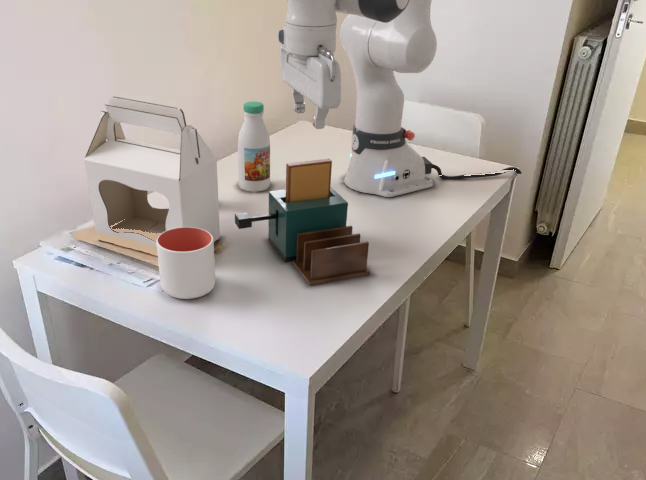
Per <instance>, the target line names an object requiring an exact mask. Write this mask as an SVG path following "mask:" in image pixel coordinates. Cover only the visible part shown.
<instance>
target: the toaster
mask: <svg viewBox="0 0 646 480" xmlns="http://www.w3.org/2000/svg"><path fill="white" fill-rule="evenodd" d="M348 209H349V202H348V201H347V200H346V199H345V198H344V197H342V195H340V194H339V193H338V192H337V191H336V190H335V189H334V188H333V187H332V186H330V197H326V198H319V199H311V200H304V201H296V202H289V203H286V188H284V189H277V190H276V189H275V190H269V191H268V215H269V214H276V213H278V218H276V219H269V220H268V240H267V241H268V243H270V245H271V246H272V247H273V248H274V250H275V251H276V252H277V253H278V255H279V256H280V257H281V259H282V260H283V261H284V263H289V262H292V260H296V256H297V234H299V233H305V232H312V231H319V230H325V229H332V228H339V227H345V226H347V221H348Z"/></svg>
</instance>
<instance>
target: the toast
mask: <svg viewBox="0 0 646 480" xmlns="http://www.w3.org/2000/svg"><path fill="white" fill-rule="evenodd" d="M285 165H286V168H285V189H286V203H289V202H296V201H304V200H311V199H319V198H326V197H330V187H331V185H332V184H331V183H332V167H333V160H331V159H330V158H322V159H315V160H305V161H296V162H287V163H286V164H285Z"/></svg>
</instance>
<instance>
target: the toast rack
mask: <svg viewBox="0 0 646 480" xmlns="http://www.w3.org/2000/svg"><path fill="white" fill-rule="evenodd" d="M353 228H354V227H353V225H346V226H345V227H339V228H332V229H325V230H319V231H312V232H305V233H299V234H297V256H296V260H292V261H291V264H292V265H293V267H294V268H295V269H296V270H297V272H298V273H299V274H300V275H301V277H302V278H303V279H304V280H305V281H306V283H307V284H308V286H315V285H321V284H325V283H326V284H327V283H332V282H337V281H338V282H339V281H343V280H349V279H354V278H360V277H365V276H370V275H371V270H370V269H369V268H368V258H369V257H368V256H369V246H370V242H369V241H368V240H367V241H361V233H360V232H359V233H353Z"/></svg>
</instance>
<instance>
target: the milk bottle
mask: <svg viewBox="0 0 646 480" xmlns="http://www.w3.org/2000/svg"><path fill="white" fill-rule="evenodd" d="M264 106H265V105H264V104H263V102H260V101H246V102H245V103H243V115H244V119H243V122H242V125H241V128H240V130H239V133H238V137H237V173H238V175H237V178H238V180H237V181H238V186H239V188H240V190H244V191H245V192H263V191H266V190H268V189H269V188H270V186H271V139H270V134H269V131H268V129H267V127H266V124H265V121H264V110H265V107H264Z"/></svg>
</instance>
